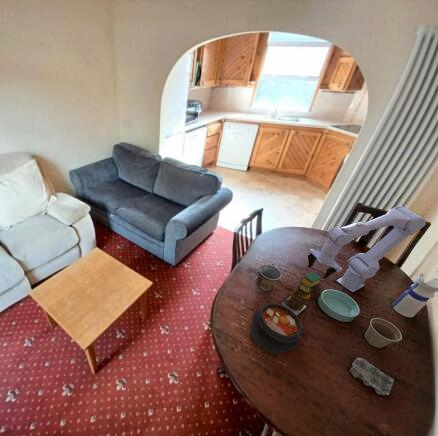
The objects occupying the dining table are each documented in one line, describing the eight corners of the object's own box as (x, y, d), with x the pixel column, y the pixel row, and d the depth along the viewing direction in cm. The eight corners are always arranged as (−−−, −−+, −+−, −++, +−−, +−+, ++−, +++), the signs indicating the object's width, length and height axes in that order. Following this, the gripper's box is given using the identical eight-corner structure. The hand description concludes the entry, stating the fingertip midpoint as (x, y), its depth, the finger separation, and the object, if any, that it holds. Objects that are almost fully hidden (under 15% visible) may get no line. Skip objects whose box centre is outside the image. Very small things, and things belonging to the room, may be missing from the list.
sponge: (310, 277, 123) (313, 271, 120) (318, 283, 120) (322, 277, 117) (300, 281, 121) (304, 275, 118) (309, 288, 117) (312, 282, 115)
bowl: (330, 291, 116) (334, 285, 113) (361, 315, 105) (367, 309, 102) (310, 301, 111) (314, 295, 108) (341, 327, 100) (346, 321, 98)
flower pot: (391, 357, 90) (405, 345, 85) (361, 345, 94) (372, 333, 89) (385, 336, 97) (398, 324, 92) (357, 325, 101) (368, 314, 96)
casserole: (281, 369, 87) (289, 358, 82) (238, 331, 99) (242, 320, 94) (310, 329, 100) (318, 317, 95) (269, 299, 112) (274, 288, 107)
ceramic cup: (272, 297, 113) (278, 283, 107) (251, 286, 118) (256, 273, 112) (278, 280, 122) (285, 266, 116) (258, 271, 127) (264, 257, 121)
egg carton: (346, 372, 86) (352, 367, 84) (354, 359, 90) (359, 353, 88) (383, 400, 79) (390, 395, 77) (390, 384, 83) (396, 379, 81)
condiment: (306, 306, 109) (317, 289, 102) (296, 315, 105) (306, 299, 98) (291, 295, 114) (300, 279, 107) (281, 304, 110) (289, 287, 103)
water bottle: (389, 298, 112) (423, 260, 98) (413, 307, 108) (453, 269, 94) (390, 310, 107) (428, 273, 92) (416, 320, 102) (459, 283, 88)
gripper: (308, 244, 110) (298, 265, 118) (340, 265, 99) (326, 286, 107) (318, 240, 112) (307, 260, 120) (350, 260, 101) (336, 280, 109)
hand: (317, 272), depth 114 cm, fingers open, 7 cm apart
